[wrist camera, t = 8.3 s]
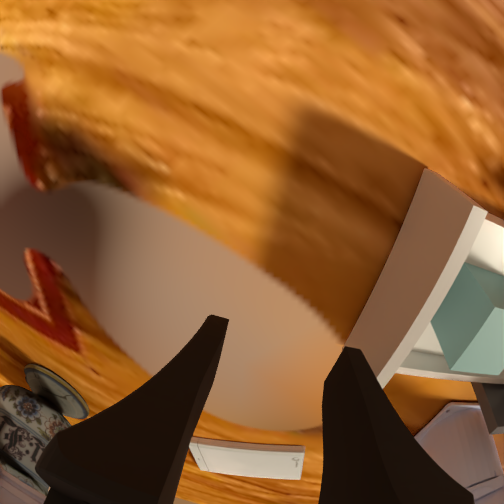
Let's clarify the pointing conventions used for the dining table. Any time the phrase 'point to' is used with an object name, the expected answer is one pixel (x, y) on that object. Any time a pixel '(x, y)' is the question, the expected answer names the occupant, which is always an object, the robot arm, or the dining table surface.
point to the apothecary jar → (34, 421)
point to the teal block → (472, 322)
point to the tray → (426, 282)
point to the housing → (491, 405)
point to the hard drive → (248, 458)
